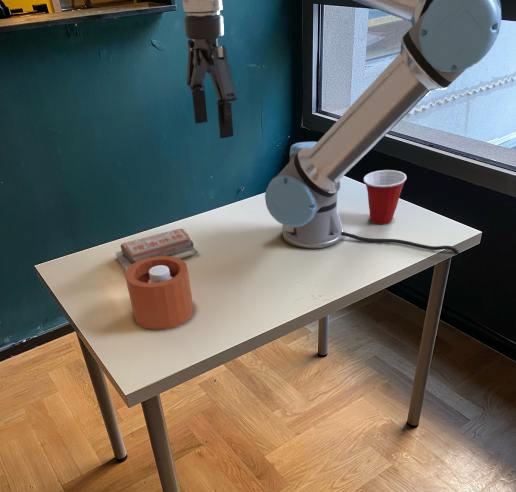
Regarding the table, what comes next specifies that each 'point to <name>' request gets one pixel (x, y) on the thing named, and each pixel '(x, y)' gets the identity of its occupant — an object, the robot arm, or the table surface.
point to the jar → (160, 293)
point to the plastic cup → (383, 194)
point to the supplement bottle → (159, 274)
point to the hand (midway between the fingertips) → (213, 129)
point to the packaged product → (157, 247)
